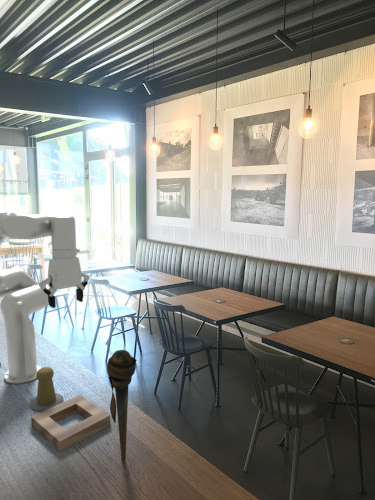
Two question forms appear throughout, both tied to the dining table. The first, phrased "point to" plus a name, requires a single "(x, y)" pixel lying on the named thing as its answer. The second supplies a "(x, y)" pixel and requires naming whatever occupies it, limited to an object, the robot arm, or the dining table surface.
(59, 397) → the coaster
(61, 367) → the dining table surface
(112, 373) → the decorative torch
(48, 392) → the cork
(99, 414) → the square frame
